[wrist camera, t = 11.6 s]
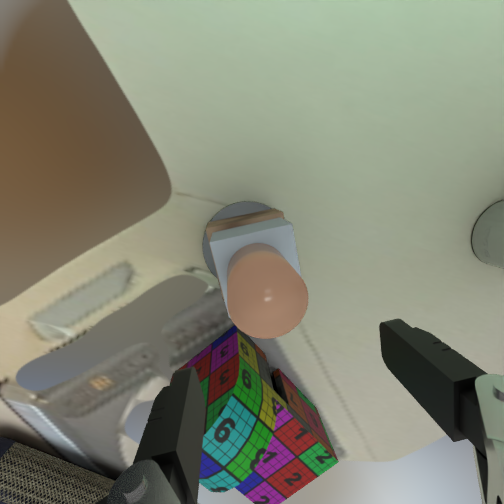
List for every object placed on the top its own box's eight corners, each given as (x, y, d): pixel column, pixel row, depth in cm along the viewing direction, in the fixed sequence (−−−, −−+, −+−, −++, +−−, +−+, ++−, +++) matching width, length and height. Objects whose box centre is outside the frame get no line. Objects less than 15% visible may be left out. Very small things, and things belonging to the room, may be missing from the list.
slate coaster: (282, 193, 32) (283, 193, 31) (295, 276, 35) (297, 278, 34) (193, 211, 31) (192, 212, 30) (214, 294, 34) (214, 297, 33)
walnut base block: (274, 208, 31) (283, 212, 26) (285, 270, 33) (295, 284, 28) (208, 222, 31) (205, 228, 26) (223, 284, 33) (223, 300, 28)
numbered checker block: (144, 395, 37) (96, 518, 23) (236, 323, 36) (243, 407, 22) (253, 486, 43) (267, 625, 29) (335, 427, 42) (389, 544, 28)
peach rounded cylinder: (282, 237, 22) (302, 254, 16) (291, 293, 23) (313, 328, 17) (221, 249, 22) (218, 272, 16) (233, 306, 23) (236, 346, 17)
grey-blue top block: (279, 217, 26) (292, 223, 22) (291, 280, 28) (305, 299, 23) (212, 232, 26) (209, 242, 21) (228, 295, 28) (229, 317, 23)
